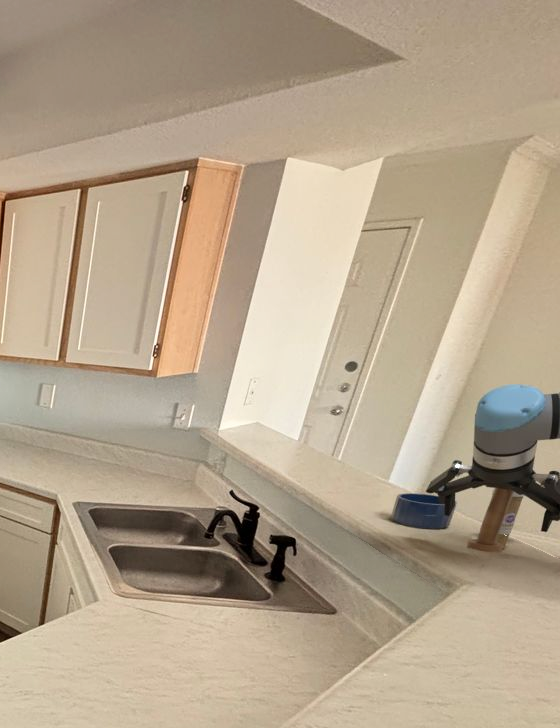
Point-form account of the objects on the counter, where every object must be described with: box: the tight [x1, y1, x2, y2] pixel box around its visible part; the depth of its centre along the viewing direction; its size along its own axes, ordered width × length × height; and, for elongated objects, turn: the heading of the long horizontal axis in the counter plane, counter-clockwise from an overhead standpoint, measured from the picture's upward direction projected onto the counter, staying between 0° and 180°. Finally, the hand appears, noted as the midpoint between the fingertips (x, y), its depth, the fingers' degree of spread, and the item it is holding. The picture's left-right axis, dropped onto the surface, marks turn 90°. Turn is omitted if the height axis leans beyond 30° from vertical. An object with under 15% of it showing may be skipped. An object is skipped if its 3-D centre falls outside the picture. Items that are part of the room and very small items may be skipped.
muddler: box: [466, 488, 514, 553], centre depth 117 cm, size 5×5×18 cm
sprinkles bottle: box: [476, 488, 526, 550], centre depth 122 cm, size 5×5×14 cm
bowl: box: [390, 492, 458, 530], centre depth 139 cm, size 10×10×6 cm
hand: (495, 518), depth 118 cm, fingers open, 13 cm apart
